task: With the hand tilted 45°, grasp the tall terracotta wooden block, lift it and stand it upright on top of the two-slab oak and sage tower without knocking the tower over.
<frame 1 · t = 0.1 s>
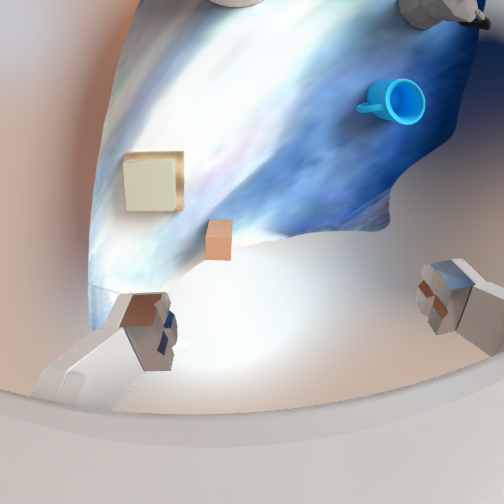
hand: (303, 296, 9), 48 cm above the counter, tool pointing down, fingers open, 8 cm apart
tower base: (156, 178, 55), on the counter, touching tower top
mug: (376, 101, 49), on the counter
tower top: (152, 182, 53), point 2 cm above the counter, touching tower base
coffeepot: (420, 13, 38), on the counter
tall block: (220, 229, 60), on the counter
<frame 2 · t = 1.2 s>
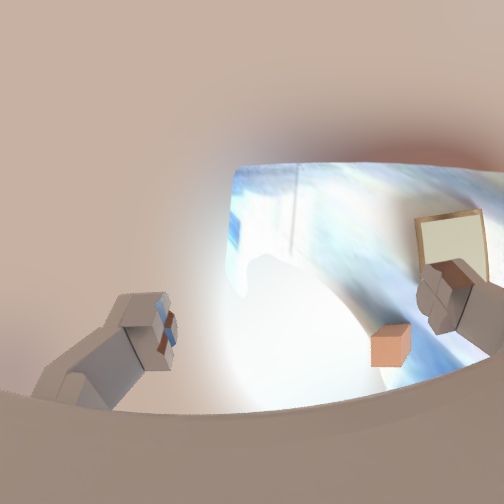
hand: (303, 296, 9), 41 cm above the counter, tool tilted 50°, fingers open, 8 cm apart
tower base: (453, 251, 39), on the counter, touching tower top
tower top: (454, 251, 36), point 2 cm above the counter, touching tower base
tall block: (398, 337, 44), on the counter
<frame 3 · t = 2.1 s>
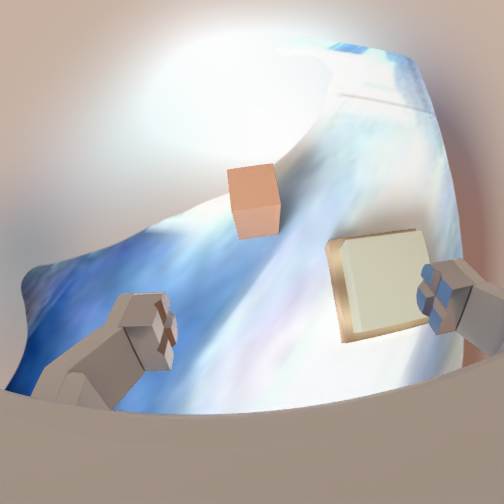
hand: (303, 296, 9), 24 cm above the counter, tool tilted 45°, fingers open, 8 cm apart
tower base: (376, 287, 33), on the counter
tower top: (385, 283, 30), point 2 cm above the counter
tall block: (256, 219, 36), on the counter
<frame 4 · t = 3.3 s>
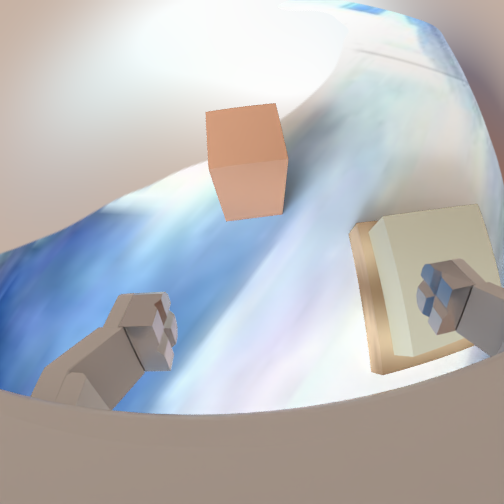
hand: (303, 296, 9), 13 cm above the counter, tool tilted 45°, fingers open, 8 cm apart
tower base: (418, 291, 22), on the counter, touching tower top
tower top: (433, 280, 20), point 2 cm above the counter, touching tower base
tall block: (250, 192, 25), on the counter
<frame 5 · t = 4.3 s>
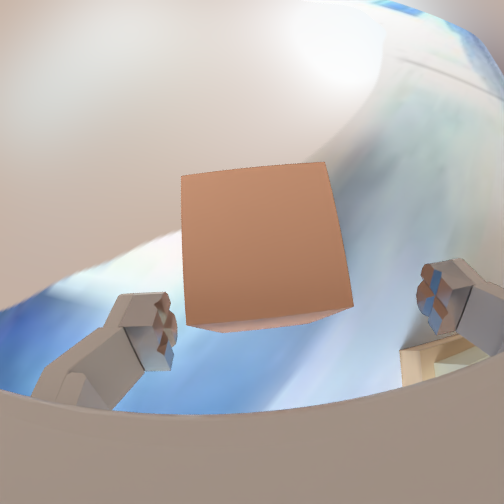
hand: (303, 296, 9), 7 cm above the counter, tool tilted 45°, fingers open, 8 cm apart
tower base: (468, 408, 14), on the counter, touching tower top
tower top: (496, 409, 11), point 2 cm above the counter, touching tower base
tall block: (261, 286, 16), on the counter
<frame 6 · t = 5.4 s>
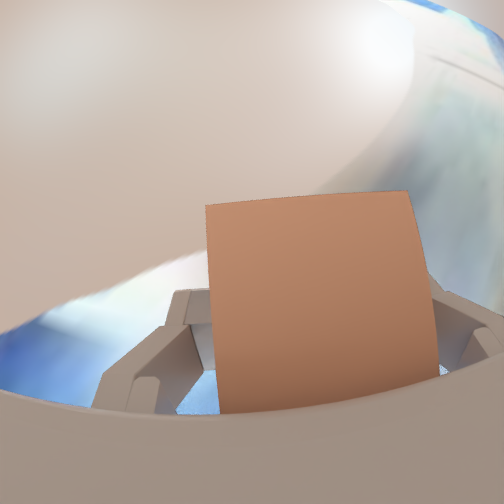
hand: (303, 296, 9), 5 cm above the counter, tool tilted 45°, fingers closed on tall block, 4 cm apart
tall block: (292, 323, 13), on the counter, touching gripper
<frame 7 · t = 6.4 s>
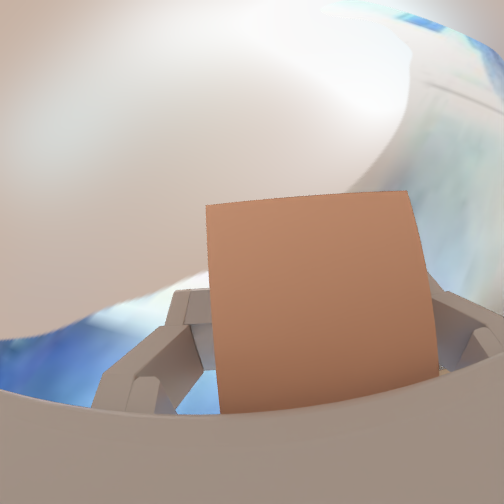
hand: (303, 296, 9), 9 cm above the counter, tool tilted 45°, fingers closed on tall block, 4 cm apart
tall block: (292, 323, 13), point 4 cm above the counter, touching gripper
when the fingers open (12 cm above the counter, at t = 10.2 s): tall block drops 2 cm, point 5 cm above the counter.
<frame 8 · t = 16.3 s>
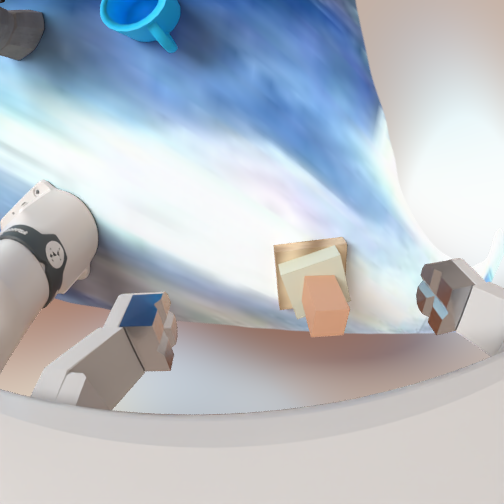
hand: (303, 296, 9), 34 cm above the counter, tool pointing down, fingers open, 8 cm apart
tower base: (308, 268, 50), on the counter, touching tower top
mug: (158, 25, 30), on the counter
tower top: (313, 278, 47), point 2 cm above the counter, touching tower base
coffeepot: (26, 29, 26), on the counter
tall block: (317, 288, 44), point 5 cm above the counter
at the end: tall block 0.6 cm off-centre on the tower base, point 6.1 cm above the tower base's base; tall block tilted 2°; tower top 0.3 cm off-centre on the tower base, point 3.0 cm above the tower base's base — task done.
